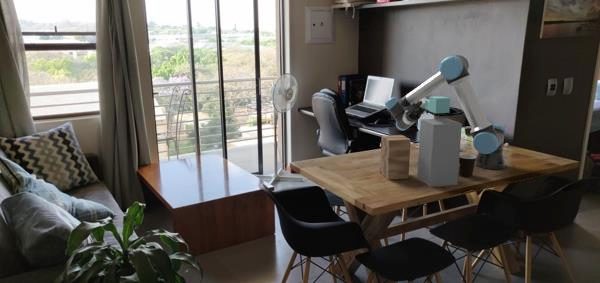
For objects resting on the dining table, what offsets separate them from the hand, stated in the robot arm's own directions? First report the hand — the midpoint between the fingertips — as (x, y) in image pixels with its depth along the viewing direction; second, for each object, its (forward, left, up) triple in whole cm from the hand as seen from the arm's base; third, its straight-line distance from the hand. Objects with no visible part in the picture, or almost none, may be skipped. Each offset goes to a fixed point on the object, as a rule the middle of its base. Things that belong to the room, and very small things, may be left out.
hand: (430, 99), depth 223 cm
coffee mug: (-20, -6, -39) cm, 44 cm away
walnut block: (+15, +8, -39) cm, 42 cm away
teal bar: (-1, +2, -5) cm, 5 cm away
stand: (-6, +11, -39) cm, 41 cm away
